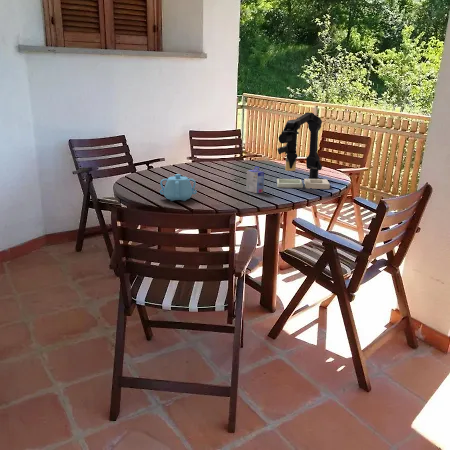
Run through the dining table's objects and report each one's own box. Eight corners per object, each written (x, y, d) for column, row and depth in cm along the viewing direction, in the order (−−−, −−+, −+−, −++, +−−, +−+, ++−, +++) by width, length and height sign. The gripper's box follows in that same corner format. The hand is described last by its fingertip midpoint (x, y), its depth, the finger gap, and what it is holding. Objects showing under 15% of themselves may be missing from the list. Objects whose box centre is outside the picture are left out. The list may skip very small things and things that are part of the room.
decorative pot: (182, 194, 255) (181, 170, 251) (199, 199, 243) (199, 174, 239) (157, 198, 245) (156, 173, 241) (174, 204, 233) (173, 178, 229)
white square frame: (304, 183, 284) (304, 178, 283) (326, 183, 283) (326, 179, 282) (305, 188, 270) (306, 183, 269) (329, 189, 269) (329, 184, 268)
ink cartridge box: (264, 192, 259) (264, 167, 255) (256, 193, 256) (257, 168, 252) (252, 189, 267) (253, 165, 262) (245, 190, 264) (246, 166, 259)
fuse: (285, 169, 277) (285, 158, 275) (295, 169, 277) (295, 158, 274) (285, 170, 273) (286, 159, 271) (295, 170, 273) (296, 159, 271)
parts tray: (277, 182, 285) (277, 178, 284) (300, 183, 284) (301, 179, 283) (277, 187, 272) (277, 183, 271) (302, 188, 271) (302, 184, 270)
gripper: (278, 139, 279) (276, 164, 284) (278, 143, 261) (277, 170, 266) (296, 140, 278) (294, 165, 283) (298, 144, 261) (296, 170, 265)
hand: (290, 167), depth 274 cm, fingers closed on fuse, 4 cm apart
